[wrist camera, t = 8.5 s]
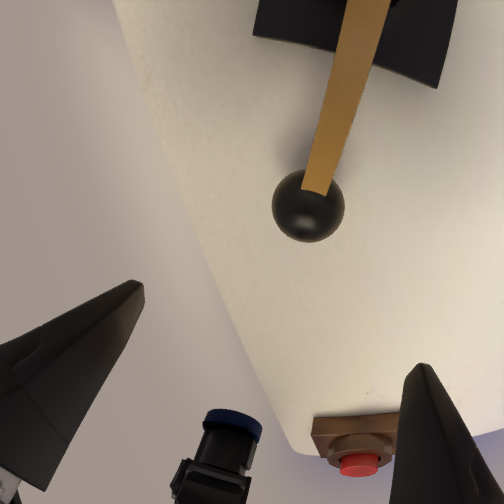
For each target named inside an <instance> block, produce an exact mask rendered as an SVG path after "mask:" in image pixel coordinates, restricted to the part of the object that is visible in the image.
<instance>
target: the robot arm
mask: <svg viewBox="0 0 504 504" xmlns="http://www.w3.org/2000/svg"><path fill="white" fill-rule="evenodd" d="M144 303H145V297H144V285H143V283H141V282H138V281H135V280H128V281H127V282H125V283H123V284H121V285H119V286H117V287H115V288H113V289H111V290H109V291H107V292H105V293H103V294H101V295H99V296H97V297H95V298H93V299H91V300H89V301H87V302H85V303H83V304H81V305H79V306H77V307H76V308H74V309H72V310H70V311H68V312H66V313H64V314H62V315H60V316H58V317H57V318H54V319H52V320H51V321H49V322H47V323H45V324H43V325H42V326H39V327H37V328H35V329H33V330H32V331H30V332H28V333H26V334H24V335H22V336H20V337H17V338H15V339H13V340H11V341H8V342H6V343H4V344H1V345H0V504H22V503H21V500H20V497H19V493H18V489H17V488H18V486H19V484H20V483H21V481H22V480H23V481H25V482H27V483H28V484H30V485H32V486H34V487H36V488H38V489H40V490H41V491H43V492H45V491H46V489H47V487H48V485H49V483H50V481H51V479H52V477H53V475H54V473H55V471H56V469H57V467H58V466H59V464H60V462H61V460H62V458H63V456H64V454H65V452H66V450H67V448H68V446H69V444H70V442H71V441H72V438H73V437H74V435H75V433H76V431H77V429H78V428H79V426H80V424H81V422H82V420H83V419H84V417H85V415H86V413H87V411H88V410H89V408H90V406H91V404H92V403H93V401H94V399H95V397H96V396H97V394H98V392H99V390H100V389H101V387H102V385H103V383H104V382H105V380H106V378H107V377H108V375H109V373H110V371H111V370H112V368H113V366H114V365H115V363H116V361H117V360H118V358H119V356H120V355H121V353H122V351H123V350H124V348H125V346H126V344H127V342H128V340H129V338H130V335H131V333H132V331H133V329H134V327H135V325H136V323H137V320H138V318H139V316H140V314H141V312H142V310H143V307H144ZM202 425H203V426H204V428H205V432H204V434H203V437H202V440H201V442H200V445H199V447H198V450H197V453H196V455H195V458H194V460H191V459H190V458H187V460H183V459H182V461H181V463H180V466H179V468H178V470H177V472H176V474H175V476H174V478H173V480H172V482H171V484H170V488H171V490H172V498H173V499H175V503H174V504H246V500H247V496H248V492H249V488H250V483H251V479H252V478H251V477H249V476H248V477H246V476H244V475H245V471H246V470H250V469H251V465H252V462H253V458H254V454H255V451H256V447H257V445H256V442H255V440H254V438H253V436H252V434H251V431H250V429H248V428H245V427H238V426H232V425H226V424H220V423H214V422H209V421H203V422H202ZM389 504H504V493H503V492H502V490H501V489H500V487H499V485H498V483H497V482H496V480H495V478H494V477H493V475H492V473H491V472H490V470H489V468H488V466H487V464H486V463H485V461H484V459H483V457H482V456H481V453H480V451H479V449H478V448H477V447H476V444H475V442H474V440H473V438H472V436H471V434H470V432H469V430H468V429H467V427H466V425H465V423H464V421H463V420H462V418H461V416H460V414H459V412H458V411H457V409H456V407H455V405H454V404H453V402H452V400H451V398H450V397H449V395H448V393H447V392H446V390H445V388H444V387H443V385H442V383H441V382H440V380H439V378H438V377H437V375H436V373H435V372H434V370H433V368H432V367H431V366H430V365H429V364H425V363H418V364H417V365H416V366H415V367H414V368H413V370H412V371H411V372H410V373H409V374H408V375H407V376H406V378H405V381H404V386H403V394H402V401H401V407H400V413H399V420H398V429H397V443H396V454H395V464H394V472H393V480H392V488H391V494H390V501H389Z"/></svg>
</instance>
